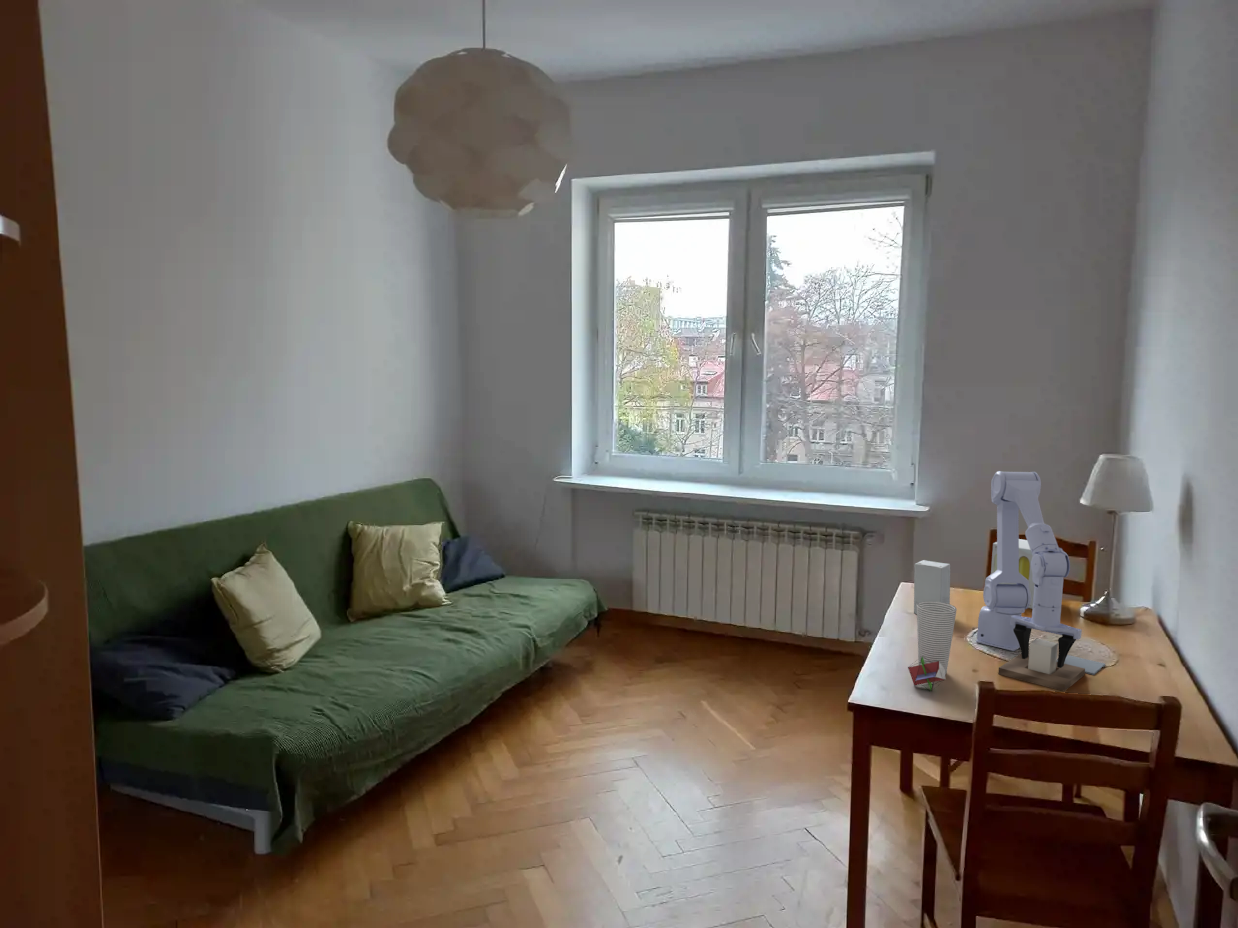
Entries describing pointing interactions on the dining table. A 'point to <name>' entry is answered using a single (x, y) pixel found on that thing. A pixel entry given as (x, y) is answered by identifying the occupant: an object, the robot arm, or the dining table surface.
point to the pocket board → (1042, 674)
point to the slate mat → (1084, 664)
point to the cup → (935, 631)
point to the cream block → (1043, 656)
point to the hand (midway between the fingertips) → (1042, 662)
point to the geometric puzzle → (927, 673)
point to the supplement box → (1024, 564)
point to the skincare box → (931, 582)
